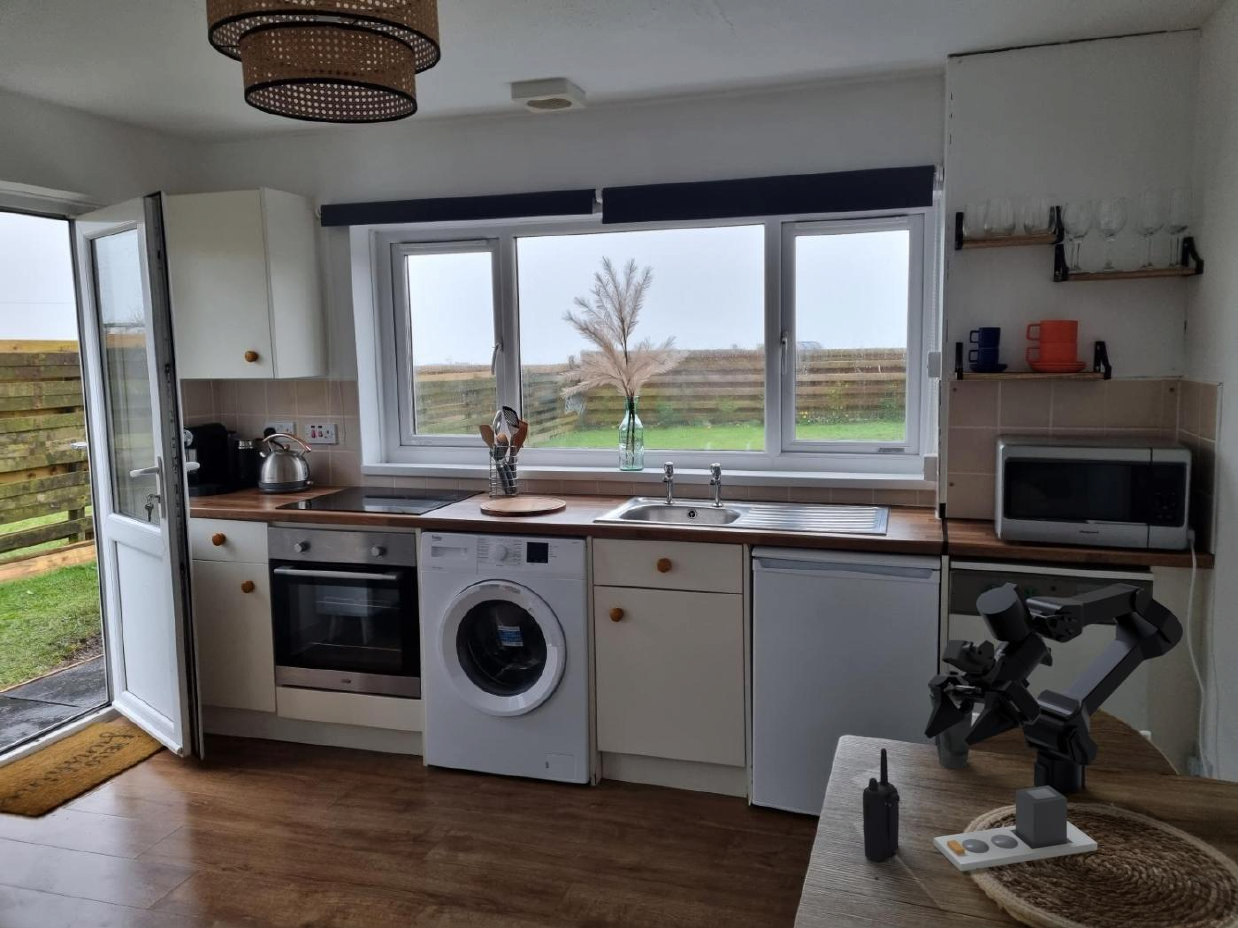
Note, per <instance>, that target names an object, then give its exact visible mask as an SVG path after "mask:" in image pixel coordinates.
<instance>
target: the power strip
mask: <svg viewBox="0 0 1238 928" xmlns="http://www.w3.org/2000/svg"><path fill="white" fill-rule="evenodd" d="M933 845H934V846H935V847H936V849H937V850H939V851H940V852H941V853H942V854H943V855H944V856H945V858H947V859H948V860H949V861H950V863H952V864H953V865H954V867H956V868H957V869H958V870H959V872H966V871H973V870H977V869H976V868H979V869H985V868H991V867H997V866H1005V865H1010V864H1017V863H1023V862H1028V861H1036V860H1041V859H1048V858H1055V857H1061V856H1068V855H1075V854H1079V853H1087V852H1093V851H1098V842H1097V841H1095V839H1092V837H1090V836H1088V835H1087V834H1086V833H1085V832H1083V831H1082V830H1080V829H1079V828H1078V827H1077V826H1076V825H1074V824H1072V823H1071V822H1069V820H1067V844H1062V845H1056V846H1049V847H1043V848H1036V849H1031V848H1030V847H1029V846H1028V845H1026V844H1025V843H1024V842H1023V841H1022V840H1020V839H1019V838H1018V837H1017V836H1016V824H1015V825H1010V826H1003V827H997V828H996V827H995V828H990V829H984V830H976V831H969V832H961V833H957V834H956V833H955V834H949V835H941V836H938V837H937V836H936V837H933Z"/></svg>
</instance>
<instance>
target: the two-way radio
mask: <svg viewBox="0 0 1238 928" xmlns="http://www.w3.org/2000/svg"><path fill="white" fill-rule="evenodd" d="M879 765H880V766H879V767H880V773H879V774H880V775H879V777H880V780H879V781H877V780H878V779H877V778H875V777H871V778H869V781H868V786H867V787H865V788H864V789H863V792H862V815H863V816H862V817H863V819H862V820H863V828H862V829H863V841H864V856H865V857H866V858H868V860H871V861H874V862H875V861H876V862H882V861H886V860H889V859H891V858H892V857H894V856H896V855H897V853H896V851H897V850H898V849H899V828H900V827H899V824H900V823H899V820H900V819H899V818H900V817H899V816H900V815H899V814H900V808H899V807H900V806H899V805H900V804H899V803H900V800H901V796H900V795H899V793H898V789H897V787H896V786H895V785H894V784H893V783H890V782H889V774H888V771H889V770H888V769H889V768H888V767H889V766H888V752H887V749H886V748H884V747H883V748H881V749H880V763H879Z"/></svg>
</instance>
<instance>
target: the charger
mask: <svg viewBox="0 0 1238 928" xmlns="http://www.w3.org/2000/svg"><path fill="white" fill-rule="evenodd" d="M1067 821H1068V798H1067V797H1066V796H1064V794H1060V793H1059V792H1057V791H1056V790H1054V789H1053V788H1051V787H1050V786H1049V785H1048V786H1041V787H1036V786H1034V787H1027V788H1022V789H1015V825H1016V836H1017V837H1018V838H1019V839H1020V840H1022V841H1023V842H1024V843H1025V844H1026V845H1028V846H1029V847H1030V848H1031V849H1036V848H1043V847H1049V846H1056V845H1062V844H1067Z"/></svg>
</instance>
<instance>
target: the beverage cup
mask: <svg viewBox="0 0 1238 928" xmlns="http://www.w3.org/2000/svg"><path fill="white" fill-rule="evenodd" d="M946 646H947V645H943V646H942V649H943V650H942V651H943V652H944V651H945V649H946ZM944 663H945V662H944ZM949 665H950V664H949V663H945V664H944V666H945V671H943V672H940V674H938V675H937V676H951V677H956V678H957V679H958V680H959V681H960V683H961V684H962V685H963V686H968V684H969V683H968V682H967V681H964V679H963V678H962V677H961V676H960V675H961V674H962V673H961V672H958V671H956V670H951V669H950V666H949ZM929 691H930V690H929ZM929 697H930V703H931V706H932V707H931V708H933V707H934V703H935V700H934V696H933V694H932V693H931V691H930V692H929ZM974 708H975V707H974ZM974 708H973V709H972V711H971V712H970V713H968V714H966V715H964V716H965V717H966V718H965V719H964V720H962V721H960V722H959V723H957V724H955V725H953V726H952V727H950V728H948V729H947V730H945V731H943V732H942V733H940V734H938V735H936V736H935V739H936V740H935V741H936V753H937V757H938V762H939V764H940V765H942V766H944V767H947V768H951V769H952V768H953V769H961V768H965V767H967V765H968V759H969V754H970V746H969V745H967V744H966V743H965V742H964V738H965V736H966V734H967V733H968V731H969V729H970V728H971V726H972V720H973V711H974Z"/></svg>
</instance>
